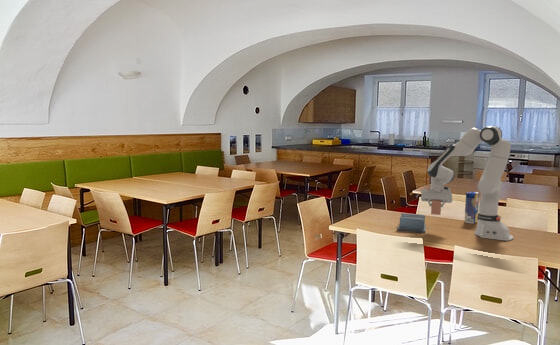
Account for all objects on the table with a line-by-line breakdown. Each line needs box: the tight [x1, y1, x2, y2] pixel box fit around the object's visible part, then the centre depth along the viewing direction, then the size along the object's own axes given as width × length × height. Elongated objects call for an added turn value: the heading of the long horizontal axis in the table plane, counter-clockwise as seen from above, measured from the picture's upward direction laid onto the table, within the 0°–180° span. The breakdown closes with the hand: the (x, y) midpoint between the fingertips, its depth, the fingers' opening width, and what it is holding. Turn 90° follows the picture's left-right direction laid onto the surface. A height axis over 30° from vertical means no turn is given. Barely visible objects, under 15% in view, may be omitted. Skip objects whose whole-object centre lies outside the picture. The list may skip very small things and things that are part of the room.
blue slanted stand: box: [396, 216, 427, 234], centre depth 298 cm, size 18×20×8 cm
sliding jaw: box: [400, 212, 426, 225], centre depth 304 cm, size 16×2×7 cm, turn 70°
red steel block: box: [430, 200, 442, 216], centre depth 291 cm, size 6×4×9 cm
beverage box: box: [463, 191, 480, 224], centre depth 321 cm, size 7×11×22 cm, turn 144°
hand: (436, 206), depth 290 cm, fingers closed on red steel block, 6 cm apart
